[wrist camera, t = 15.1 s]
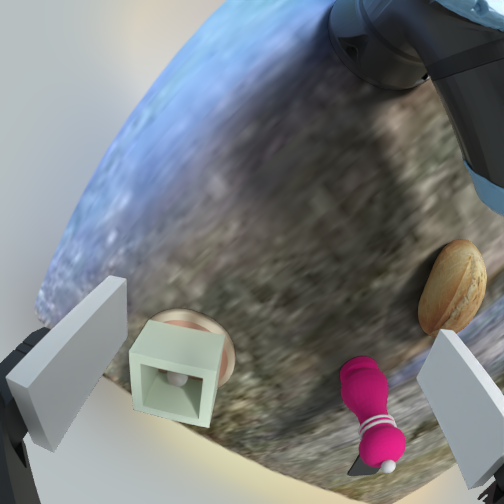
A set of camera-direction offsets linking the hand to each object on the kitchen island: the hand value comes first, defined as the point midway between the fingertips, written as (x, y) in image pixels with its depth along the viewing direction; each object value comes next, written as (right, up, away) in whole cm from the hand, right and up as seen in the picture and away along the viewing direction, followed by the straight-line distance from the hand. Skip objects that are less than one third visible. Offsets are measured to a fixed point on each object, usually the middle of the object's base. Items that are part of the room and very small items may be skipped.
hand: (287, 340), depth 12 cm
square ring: (-11, -12, +33) cm, 37 cm away
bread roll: (+26, -1, +30) cm, 40 cm away
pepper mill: (+16, -15, +35) cm, 41 cm away
